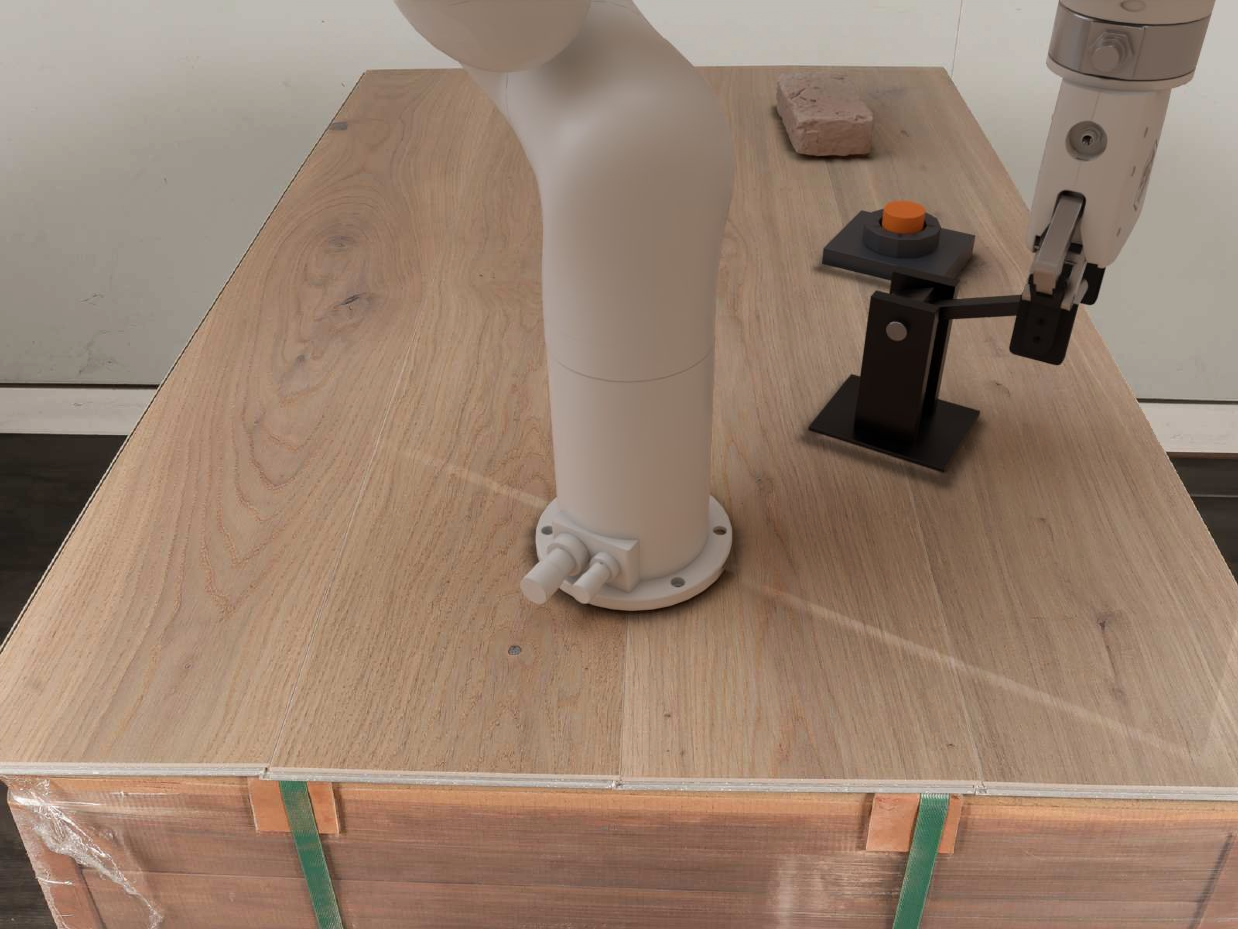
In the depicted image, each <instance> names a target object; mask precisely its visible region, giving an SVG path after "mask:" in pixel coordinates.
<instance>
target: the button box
mask: <svg viewBox="0 0 1238 929" xmlns="http://www.w3.org/2000/svg"><path fill="white" fill-rule="evenodd" d="M883 211H884V208H881V209H877V210H873V211H867V210H862V209H861V210H860V211H858V213H857V214H856V215H855V216H854V217H852V219H851V220H850V221H849V222H848V223H847V224H845V226H844V227H842V228H841V229H840V231H839V232H838V233H837V234H836V235H835V236H834V237H833V238H832V239H831V240H830V241H829V242H828V243H827V244H826V245H825V246H824V247H823V250H822V260H821V264H822V265H825V266H828V267H833V268H837V269H842V270H845V271H849V272H853V273H858V274H861V275H865V276H869V277H874V278H878V279H882V280H886V281H890V282H891V278H892V271H893V270H894V269H895V268H896V267H897V266H902V267H906V268H911V269H915V270H919V271H923V272H927V273H932V274H936V275H940V276H944V277H948V278H953V279H956V278H957V276H958V275H959V274H960V273H961V271H963V269H964V267H965V266H967V263H968V262H969V261H970V260H971V259H972V257H973V251H974V247H975V241H976V235H975V234H972V233H967V232H963V231H957V230H953V229H950V228H949V229H948V228H944V227H942V226H941V223H940V222H939V219H938V218H937V217H935V216H933V215H932V214H930V213H929V212H925V218H924V225H923V230H922V231H920V232H916V233H913V234H900V233H896V232H891V231H888V230H886V229H884V228H882V219H883Z"/></svg>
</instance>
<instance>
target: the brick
mask: <svg viewBox="0 0 1238 929" xmlns="http://www.w3.org/2000/svg"><path fill="white" fill-rule="evenodd" d="M776 85H777V87H776V95H775V96H776V97H775V98H776V111H777V113H778V115H779V117H780V118H782V119H781V120H782V124H783V126H784V127H785V130H786V133H787V135H788V139H789V141H790V142H791V145H792V147H793V149H794V150H795V152H796V153H797V154H801V155H806V156H815V157H826V156H827V157H828V156H839V157H846V156H849V155H852V156H854V155H866V154H869V153H870V152H871V150H872V149H871V148H872V143H873V141H872V140H873V130H874V113H873V112H872V110H871V109H870V108H869V107H868V106H867V105H866V104H865V102H863V101H862V100H861V97H860V95H859V92H858V90H857V89H856V87H855V85H854V82H853V81H852V80H851V78H850V77H848V74H846V73H845V72H842V71H835V70H819V71H816V72H815V71H806V72H802V71H799V72H793V73H781V74H780V75H779V76H778V78H777V80H776Z"/></svg>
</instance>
